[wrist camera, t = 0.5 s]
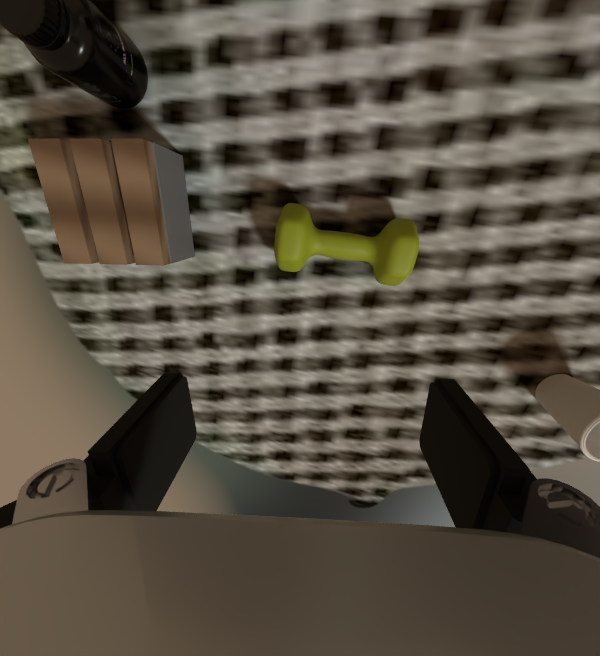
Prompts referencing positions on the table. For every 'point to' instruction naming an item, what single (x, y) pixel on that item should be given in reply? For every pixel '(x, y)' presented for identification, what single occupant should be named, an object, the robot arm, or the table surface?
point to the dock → (173, 202)
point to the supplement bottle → (79, 47)
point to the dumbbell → (346, 245)
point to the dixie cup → (573, 410)
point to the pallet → (103, 199)
